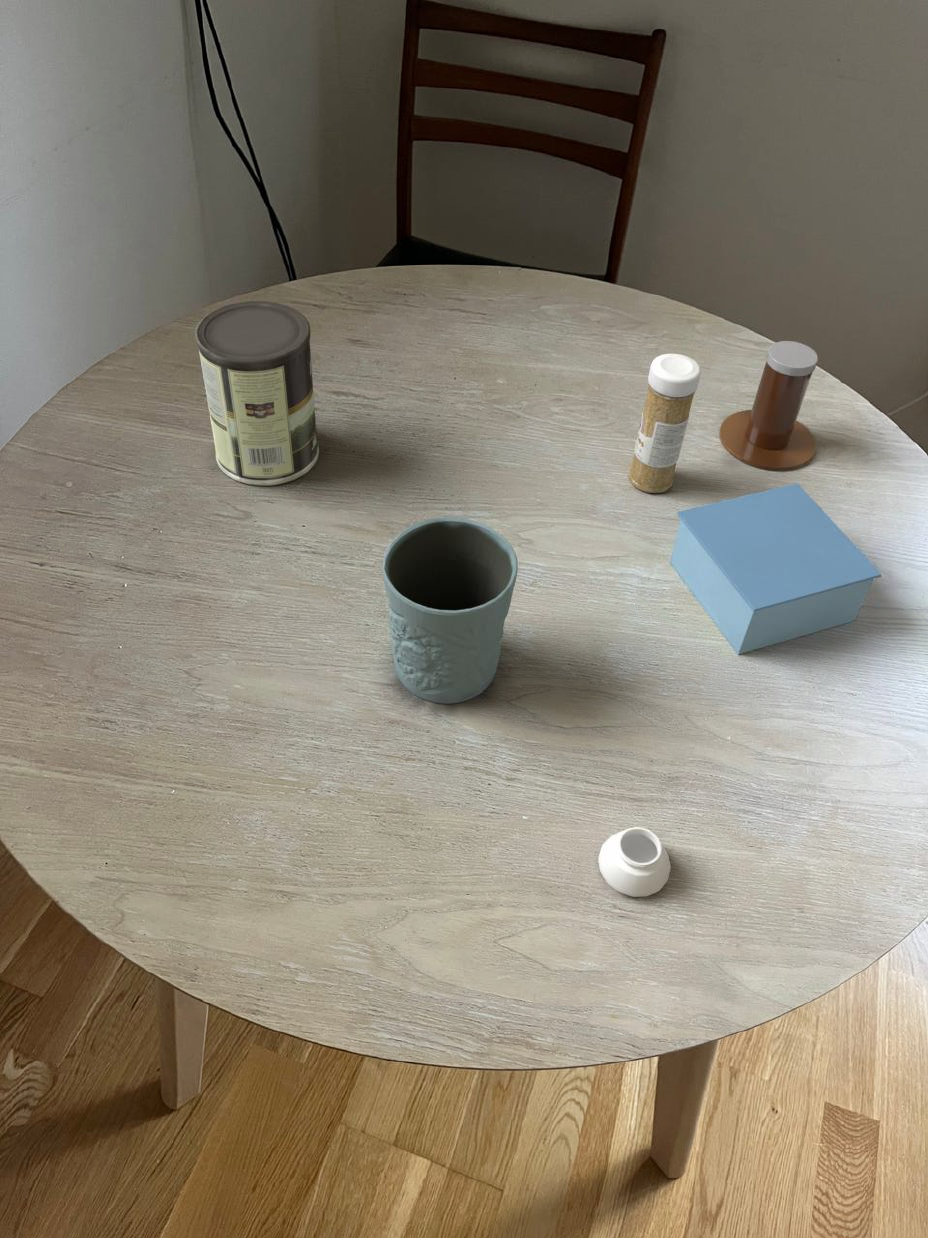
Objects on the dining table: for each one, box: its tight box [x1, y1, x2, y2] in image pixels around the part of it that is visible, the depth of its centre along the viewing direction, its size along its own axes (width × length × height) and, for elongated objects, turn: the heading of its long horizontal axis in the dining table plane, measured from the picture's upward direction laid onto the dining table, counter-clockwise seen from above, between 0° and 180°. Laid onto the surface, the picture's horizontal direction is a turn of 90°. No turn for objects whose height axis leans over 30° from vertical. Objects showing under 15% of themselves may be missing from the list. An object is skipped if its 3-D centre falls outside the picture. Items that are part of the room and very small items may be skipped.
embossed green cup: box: [382, 516, 519, 705], centre depth 82 cm, size 10×10×12 cm
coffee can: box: [194, 300, 320, 487], centre depth 99 cm, size 10×10×14 cm
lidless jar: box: [597, 826, 672, 898], centre depth 73 cm, size 5×3×5 cm
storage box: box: [669, 482, 883, 655], centre depth 92 cm, size 13×13×6 cm
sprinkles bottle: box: [628, 353, 702, 494], centre depth 99 cm, size 5×5×13 cm
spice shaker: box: [745, 340, 819, 450], centre depth 106 cm, size 5×5×10 cm
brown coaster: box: [718, 409, 817, 472], centre depth 109 cm, size 10×10×1 cm
